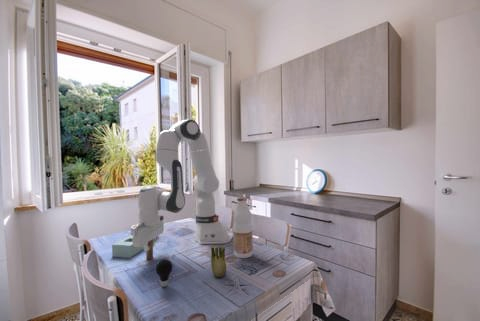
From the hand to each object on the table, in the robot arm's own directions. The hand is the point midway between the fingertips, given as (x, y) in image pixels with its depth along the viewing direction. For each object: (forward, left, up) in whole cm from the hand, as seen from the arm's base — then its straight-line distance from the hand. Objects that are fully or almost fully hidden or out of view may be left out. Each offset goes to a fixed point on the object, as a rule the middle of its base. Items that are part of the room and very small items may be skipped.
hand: (149, 248), depth 108 cm
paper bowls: (+20, -25, -5) cm, 32 cm away
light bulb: (-20, +21, -5) cm, 29 cm away
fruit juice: (-44, -11, -5) cm, 46 cm away
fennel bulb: (-38, +10, -5) cm, 40 cm away
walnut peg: (0, 0, -5) cm, 5 cm away
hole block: (+15, -6, -5) cm, 17 cm away
